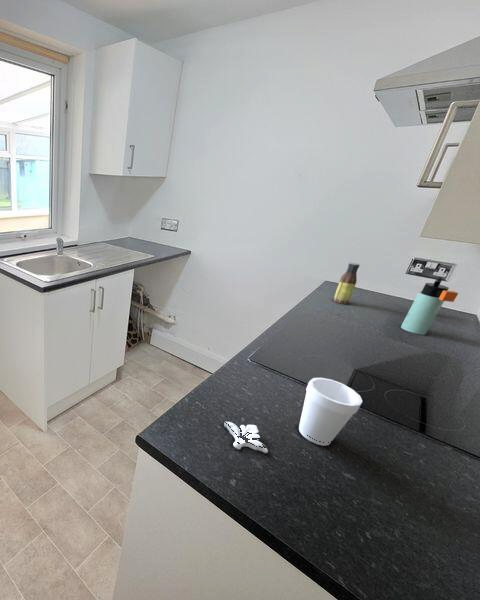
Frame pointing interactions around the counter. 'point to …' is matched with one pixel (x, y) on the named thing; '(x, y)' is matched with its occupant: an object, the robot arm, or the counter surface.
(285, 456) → the counter surface
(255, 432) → the acanthus leaf ornament
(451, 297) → the nozzle button
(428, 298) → the sports bottle
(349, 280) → the sauce bottle
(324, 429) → the foam cup
